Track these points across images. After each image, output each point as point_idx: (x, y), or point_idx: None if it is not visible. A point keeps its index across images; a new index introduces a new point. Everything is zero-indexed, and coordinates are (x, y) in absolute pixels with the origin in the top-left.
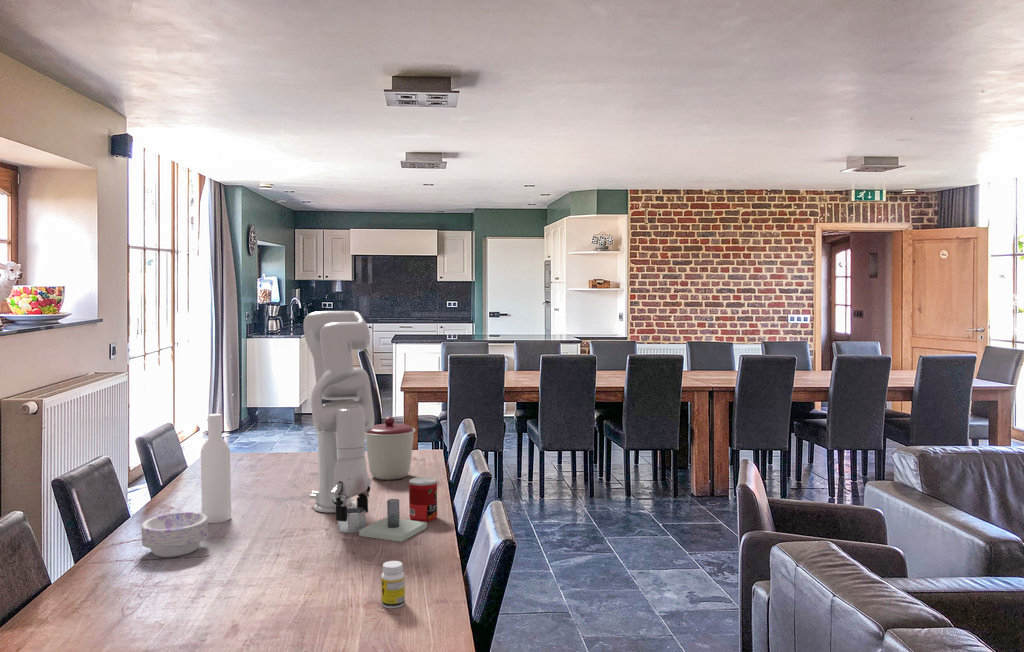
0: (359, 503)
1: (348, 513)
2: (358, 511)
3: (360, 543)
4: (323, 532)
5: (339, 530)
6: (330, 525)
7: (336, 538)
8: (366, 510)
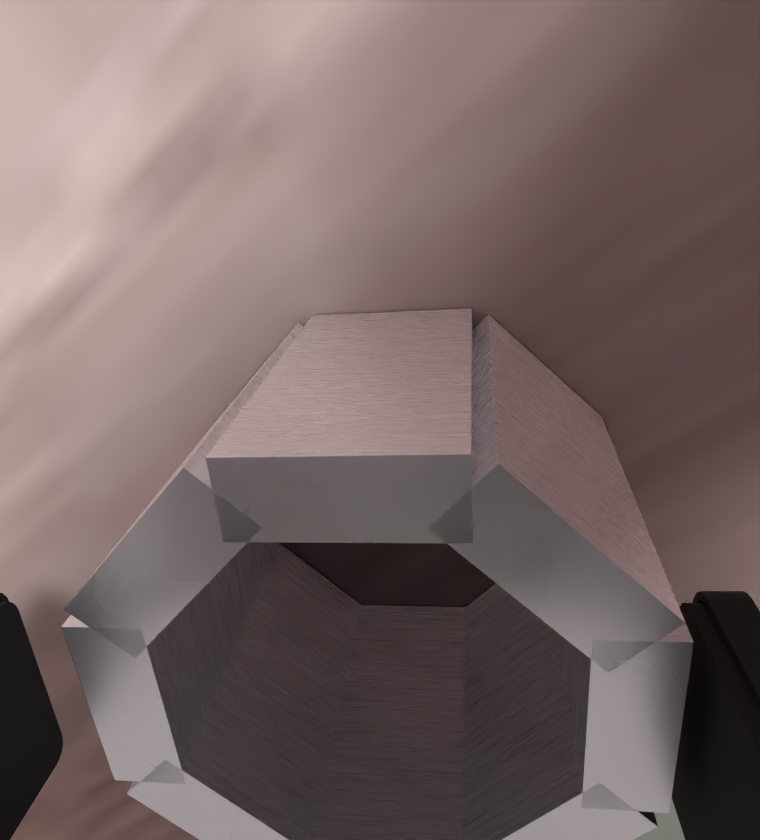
0: (751, 813)
1: (165, 762)
2: (577, 701)
3: (63, 805)
4: (50, 222)
5: (210, 427)
6: (404, 37)
7: (4, 543)
8: (680, 805)
